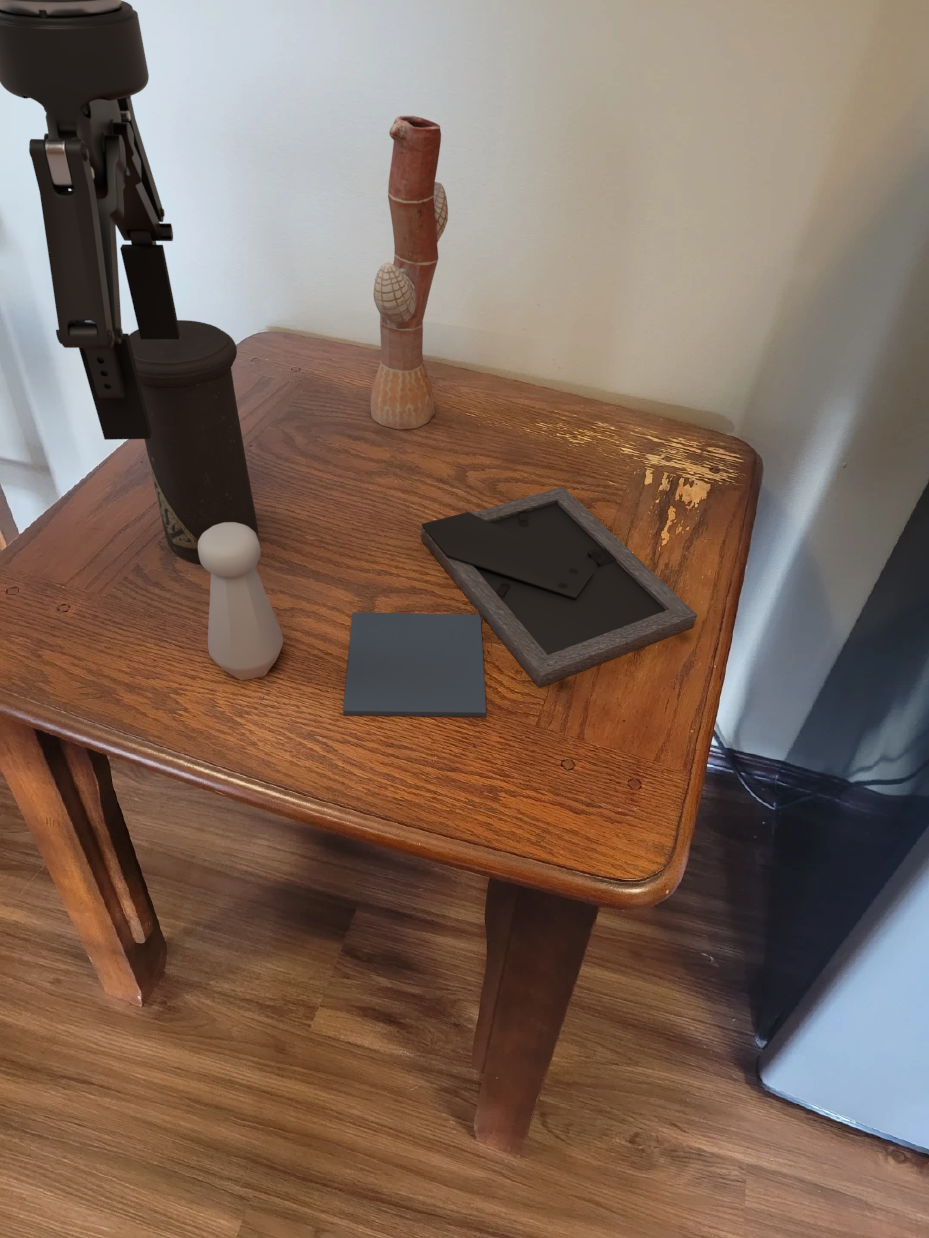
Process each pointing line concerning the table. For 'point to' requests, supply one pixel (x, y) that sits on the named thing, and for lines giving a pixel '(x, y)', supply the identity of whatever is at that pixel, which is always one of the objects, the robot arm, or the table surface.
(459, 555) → the picture frame
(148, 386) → the container
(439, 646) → the mat
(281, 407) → the table surface
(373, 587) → the table surface
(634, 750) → the table surface
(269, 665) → the salt shaker
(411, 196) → the vase
